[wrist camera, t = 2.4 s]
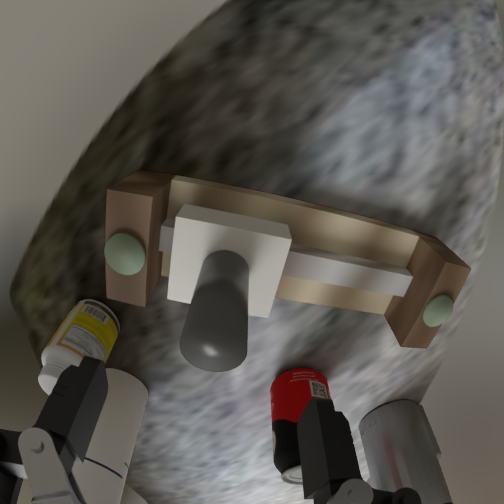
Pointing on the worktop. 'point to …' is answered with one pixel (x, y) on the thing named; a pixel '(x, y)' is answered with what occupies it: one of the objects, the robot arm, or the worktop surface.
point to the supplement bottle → (79, 340)
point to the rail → (305, 233)
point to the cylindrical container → (112, 440)
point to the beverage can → (292, 416)
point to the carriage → (223, 280)
